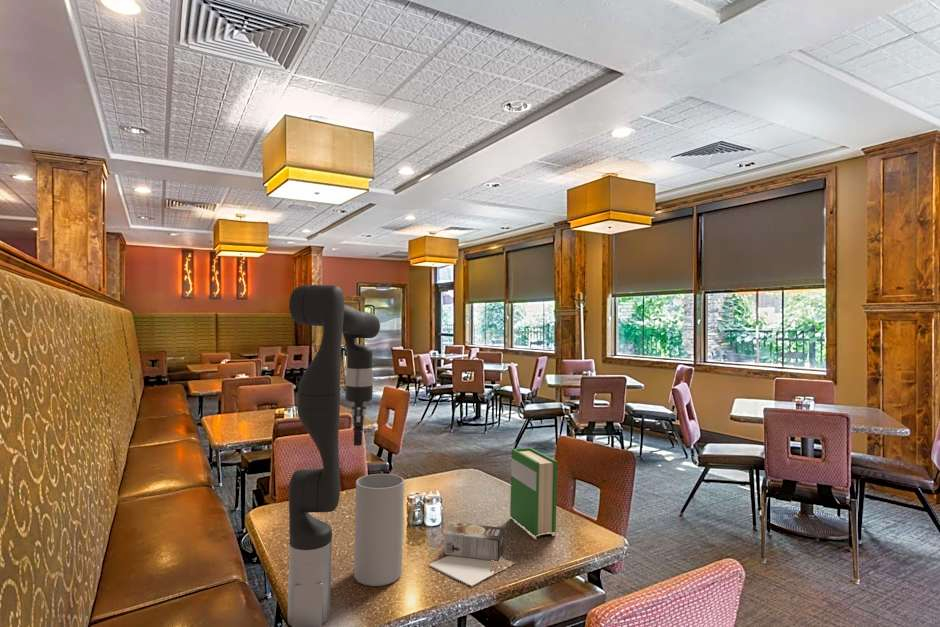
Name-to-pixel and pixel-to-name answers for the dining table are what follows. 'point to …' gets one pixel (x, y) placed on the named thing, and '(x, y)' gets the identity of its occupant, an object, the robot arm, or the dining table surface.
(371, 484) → the cylinder vase
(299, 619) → the robot arm
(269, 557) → the dining table surface
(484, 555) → the coffee box
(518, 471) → the hardback book
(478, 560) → the mat
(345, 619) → the dining table surface
